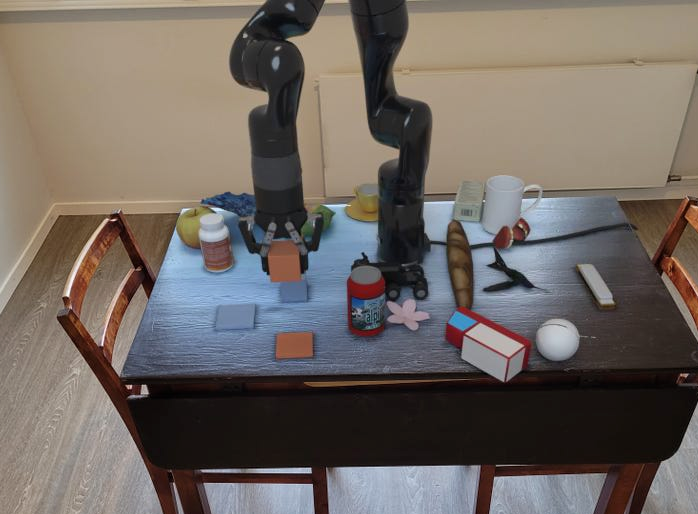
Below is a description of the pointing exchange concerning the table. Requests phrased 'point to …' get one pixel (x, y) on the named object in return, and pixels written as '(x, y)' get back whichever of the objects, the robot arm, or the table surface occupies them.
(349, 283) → the beverage can
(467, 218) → the cosmetic box
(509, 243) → the dentures model
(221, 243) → the pill bottle
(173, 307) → the table surface
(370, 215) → the cup
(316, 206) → the educational model
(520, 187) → the mug
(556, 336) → the seamed sphere
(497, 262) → the bird model
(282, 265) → the terracotta block
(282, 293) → the slate-blue block
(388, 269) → the toy vehicle
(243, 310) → the slate-blue mat
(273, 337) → the table surface
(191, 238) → the apple
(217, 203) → the rock
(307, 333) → the terracotta mat
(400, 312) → the flower
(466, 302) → the bread
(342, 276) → the table surface
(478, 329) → the toy truck
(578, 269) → the harmonica
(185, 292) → the table surface
